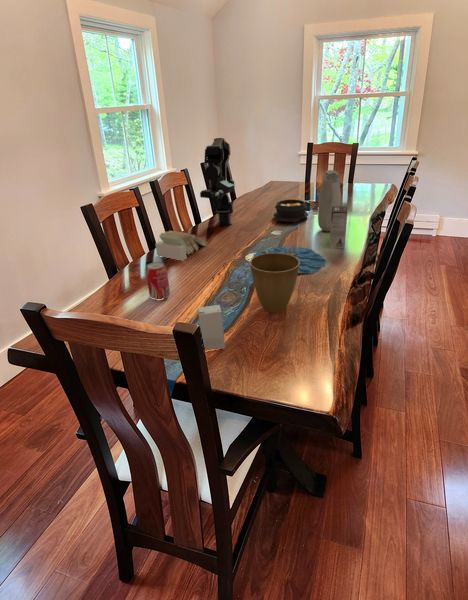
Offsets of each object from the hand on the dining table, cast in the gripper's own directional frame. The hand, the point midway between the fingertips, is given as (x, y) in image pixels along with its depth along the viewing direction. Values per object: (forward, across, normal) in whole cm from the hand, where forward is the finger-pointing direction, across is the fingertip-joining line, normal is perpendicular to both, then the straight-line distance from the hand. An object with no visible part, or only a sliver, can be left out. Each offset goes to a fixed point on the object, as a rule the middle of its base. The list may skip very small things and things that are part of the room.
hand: (217, 208), depth 190 cm
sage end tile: (+12, -28, +2) cm, 30 cm away
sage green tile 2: (+12, -22, +2) cm, 25 cm away
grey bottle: (+13, +27, -45) cm, 54 cm away
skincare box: (+13, -82, -52) cm, 98 cm away
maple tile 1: (+12, -15, +2) cm, 20 cm away
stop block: (+13, -34, +2) cm, 36 cm away
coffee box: (+13, +9, -56) cm, 58 cm away
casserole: (+13, +40, -20) cm, 46 cm away
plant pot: (+13, -54, -57) cm, 80 cm away
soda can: (+13, -65, -18) cm, 69 cm away
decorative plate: (+14, -16, -44) cm, 49 cm away
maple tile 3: (+12, -25, +2) cm, 28 cm away
